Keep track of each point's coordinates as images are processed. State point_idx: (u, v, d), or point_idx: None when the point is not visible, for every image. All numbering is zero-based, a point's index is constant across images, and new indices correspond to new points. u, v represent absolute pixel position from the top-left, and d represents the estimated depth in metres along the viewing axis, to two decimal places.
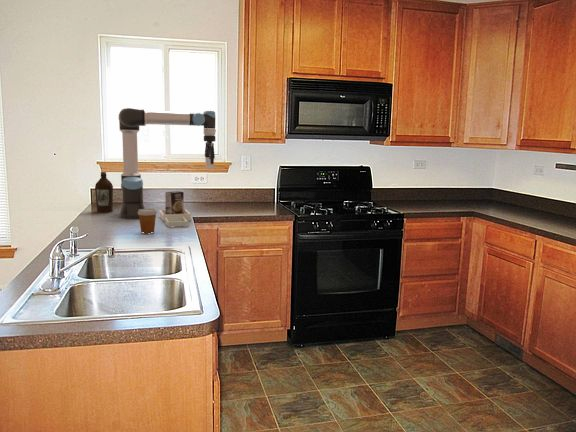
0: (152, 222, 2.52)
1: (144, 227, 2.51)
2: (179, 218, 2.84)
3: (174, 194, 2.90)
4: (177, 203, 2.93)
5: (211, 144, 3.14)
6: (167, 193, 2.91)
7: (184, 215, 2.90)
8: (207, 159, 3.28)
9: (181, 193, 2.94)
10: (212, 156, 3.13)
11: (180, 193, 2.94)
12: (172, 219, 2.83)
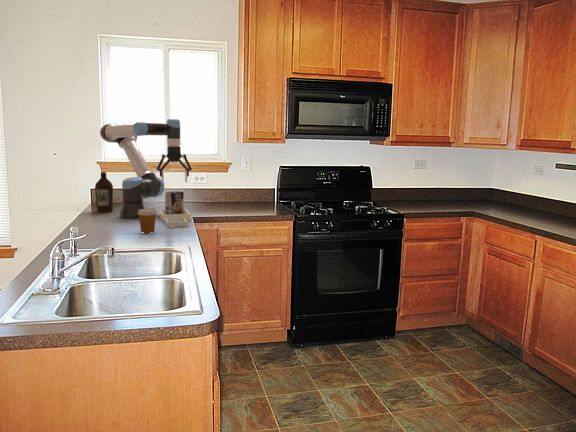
0: (152, 222, 2.52)
1: (144, 227, 2.51)
2: (179, 218, 2.84)
3: (174, 194, 2.90)
4: (177, 203, 2.93)
5: (162, 155, 2.88)
6: (167, 193, 2.91)
7: (184, 215, 2.90)
8: (185, 173, 2.94)
9: (181, 193, 2.94)
10: None
11: (180, 193, 2.94)
12: (172, 219, 2.83)
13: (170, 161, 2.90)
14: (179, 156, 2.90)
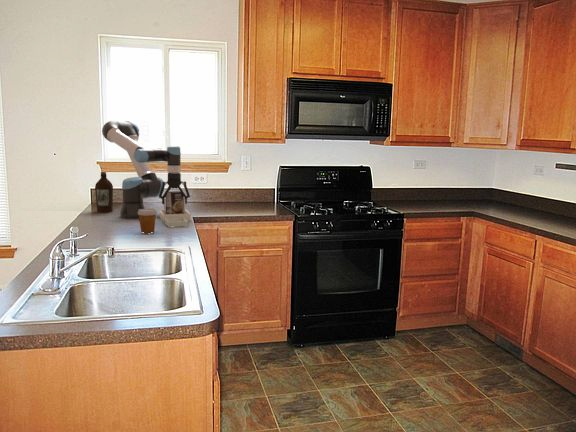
0: (152, 222, 2.52)
1: (144, 227, 2.51)
2: (179, 218, 2.84)
3: (174, 194, 2.90)
4: (177, 203, 2.93)
5: (162, 183, 2.91)
6: (167, 193, 2.91)
7: (184, 215, 2.90)
8: None
9: (181, 193, 2.94)
10: (159, 196, 2.91)
11: (180, 193, 2.94)
12: (172, 219, 2.83)
13: (170, 187, 2.93)
14: (179, 182, 2.93)
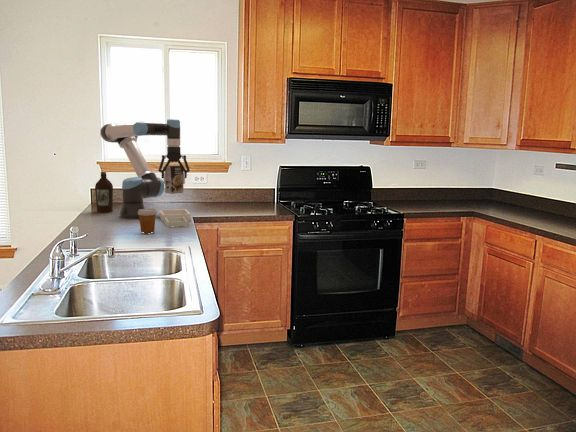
0: (152, 222, 2.52)
1: (144, 227, 2.51)
2: (179, 218, 2.84)
3: (174, 168, 2.87)
4: (177, 177, 2.90)
5: (162, 156, 2.88)
6: (167, 167, 2.88)
7: (184, 215, 2.90)
8: (183, 174, 2.94)
9: (181, 167, 2.92)
10: (158, 170, 2.89)
11: (180, 167, 2.91)
12: (172, 219, 2.83)
13: (170, 161, 2.90)
14: (179, 156, 2.90)
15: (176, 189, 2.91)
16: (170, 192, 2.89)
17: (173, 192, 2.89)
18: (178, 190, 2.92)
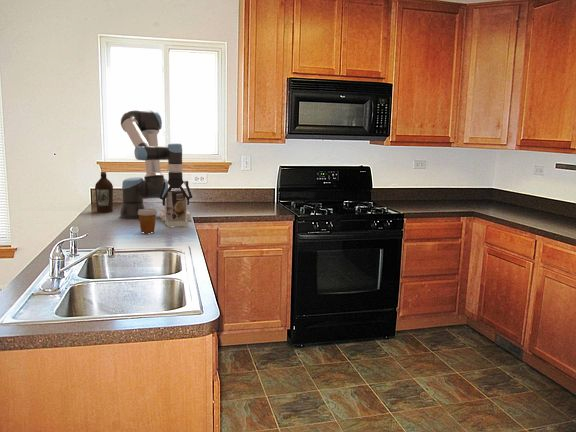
0: (152, 222, 2.52)
1: (144, 227, 2.51)
2: None
3: (175, 193, 2.71)
4: (179, 203, 2.74)
5: (163, 182, 2.72)
6: (168, 192, 2.72)
7: None
8: None
9: None
10: (159, 196, 2.72)
11: (182, 192, 2.75)
12: None
13: None
14: (181, 182, 2.74)
15: (177, 216, 2.74)
16: (171, 219, 2.73)
17: (175, 219, 2.73)
18: (179, 217, 2.75)
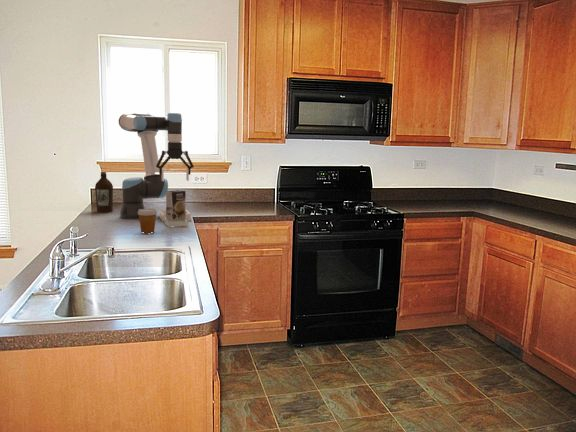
0: (152, 222, 2.52)
1: (144, 227, 2.51)
2: None
3: (175, 193, 2.71)
4: (179, 203, 2.74)
5: (162, 152, 2.69)
6: (168, 192, 2.72)
7: None
8: (186, 171, 2.76)
9: (183, 192, 2.75)
10: (156, 165, 2.70)
11: (182, 192, 2.75)
12: None
13: None
14: (180, 153, 2.72)
15: (177, 216, 2.74)
16: (171, 219, 2.73)
17: (175, 219, 2.73)
18: (179, 217, 2.75)
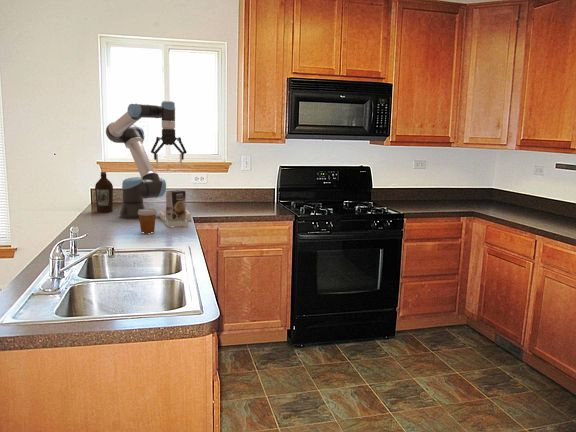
0: (152, 222, 2.52)
1: (144, 227, 2.51)
2: None
3: (175, 193, 2.71)
4: (179, 203, 2.74)
5: (156, 138, 2.84)
6: (168, 192, 2.72)
7: None
8: (180, 156, 2.91)
9: (183, 192, 2.75)
10: (151, 151, 2.85)
11: (182, 192, 2.75)
12: None
13: (165, 144, 2.87)
14: (174, 139, 2.87)
15: (177, 216, 2.74)
16: (171, 219, 2.73)
17: (175, 219, 2.73)
18: (179, 217, 2.75)
